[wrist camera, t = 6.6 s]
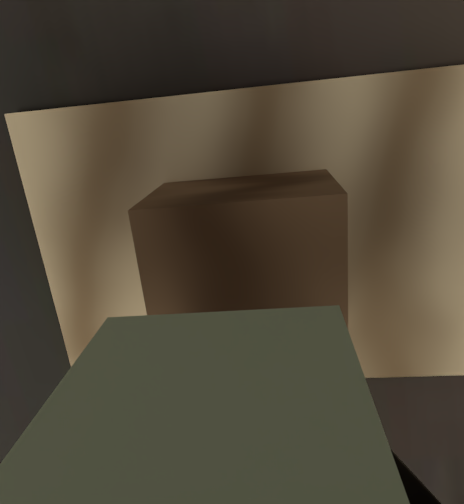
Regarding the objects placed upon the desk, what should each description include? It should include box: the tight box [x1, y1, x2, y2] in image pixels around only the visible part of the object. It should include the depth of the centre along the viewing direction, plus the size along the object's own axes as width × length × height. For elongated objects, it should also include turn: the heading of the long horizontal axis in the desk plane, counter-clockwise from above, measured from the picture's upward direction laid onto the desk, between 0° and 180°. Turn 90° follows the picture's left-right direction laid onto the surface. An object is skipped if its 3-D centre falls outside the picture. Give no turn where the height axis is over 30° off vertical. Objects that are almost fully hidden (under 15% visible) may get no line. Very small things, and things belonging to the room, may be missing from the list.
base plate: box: [4, 64, 464, 378], centre depth 17 cm, size 20×14×6 cm
